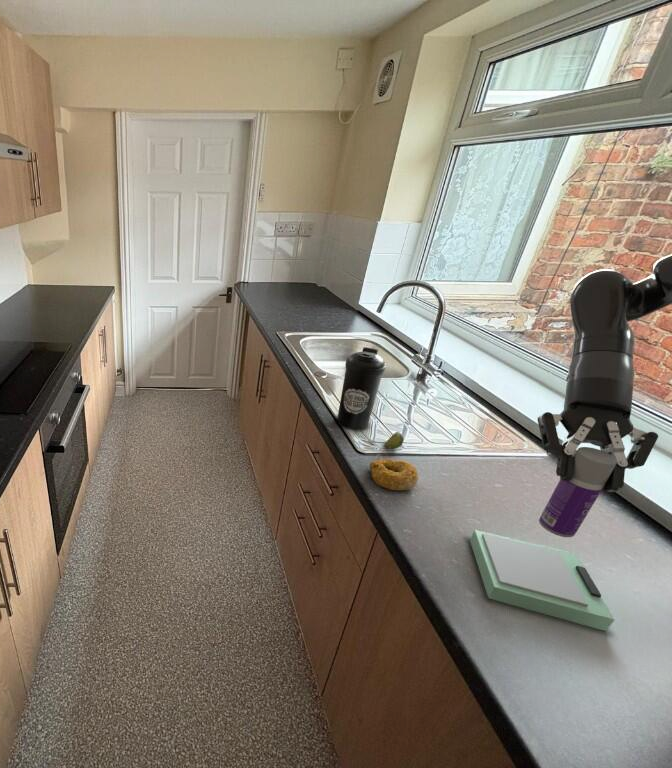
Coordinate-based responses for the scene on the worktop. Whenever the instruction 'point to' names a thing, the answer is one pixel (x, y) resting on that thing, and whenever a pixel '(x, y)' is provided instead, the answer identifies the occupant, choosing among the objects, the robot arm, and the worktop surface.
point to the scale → (539, 579)
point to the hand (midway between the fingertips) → (588, 484)
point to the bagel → (394, 474)
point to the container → (577, 492)
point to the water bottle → (360, 388)
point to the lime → (395, 441)
